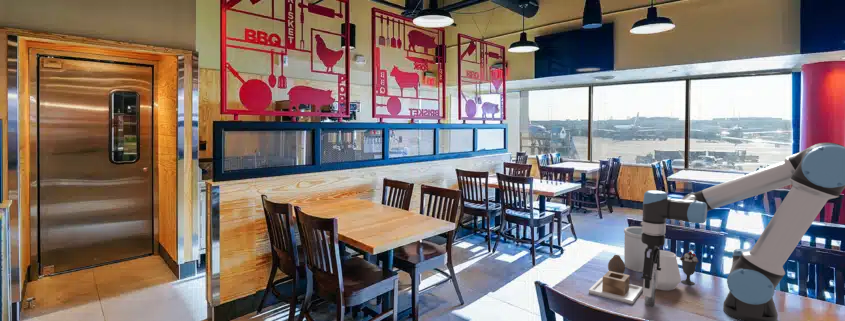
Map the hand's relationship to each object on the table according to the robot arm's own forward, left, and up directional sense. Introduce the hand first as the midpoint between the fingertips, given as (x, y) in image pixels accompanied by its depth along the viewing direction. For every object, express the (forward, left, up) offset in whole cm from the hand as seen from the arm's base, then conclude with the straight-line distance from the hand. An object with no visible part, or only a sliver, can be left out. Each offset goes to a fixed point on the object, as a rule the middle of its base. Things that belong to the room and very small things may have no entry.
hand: (650, 291), depth 156 cm
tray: (+13, -4, -5) cm, 15 cm away
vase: (+18, -23, -5) cm, 30 cm away
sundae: (-8, -32, -5) cm, 33 cm away
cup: (0, -22, -5) cm, 23 cm away
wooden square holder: (+13, -4, -5) cm, 14 cm away
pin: (0, 0, -5) cm, 5 cm away
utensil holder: (+12, -39, -5) cm, 41 cm away
